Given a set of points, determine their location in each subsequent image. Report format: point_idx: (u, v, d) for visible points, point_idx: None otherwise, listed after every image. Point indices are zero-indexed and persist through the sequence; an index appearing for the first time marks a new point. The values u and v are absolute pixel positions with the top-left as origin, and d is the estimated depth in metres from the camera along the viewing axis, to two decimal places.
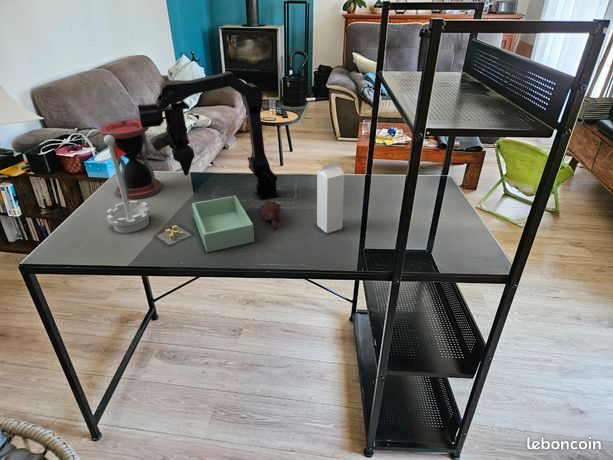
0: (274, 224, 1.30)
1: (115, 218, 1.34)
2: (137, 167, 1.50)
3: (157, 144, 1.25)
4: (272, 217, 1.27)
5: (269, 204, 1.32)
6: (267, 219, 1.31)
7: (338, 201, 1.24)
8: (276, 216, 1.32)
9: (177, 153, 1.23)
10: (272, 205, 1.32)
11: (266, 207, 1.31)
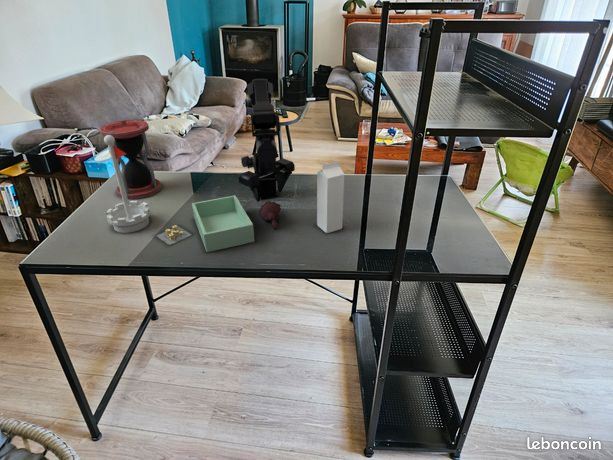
0: (274, 224, 1.30)
1: (115, 218, 1.34)
2: (137, 167, 1.50)
3: (242, 162, 1.27)
4: (272, 217, 1.27)
5: (269, 204, 1.32)
6: (267, 219, 1.31)
7: (338, 201, 1.24)
8: (276, 216, 1.32)
9: (239, 177, 1.22)
10: (272, 205, 1.32)
11: (266, 207, 1.31)
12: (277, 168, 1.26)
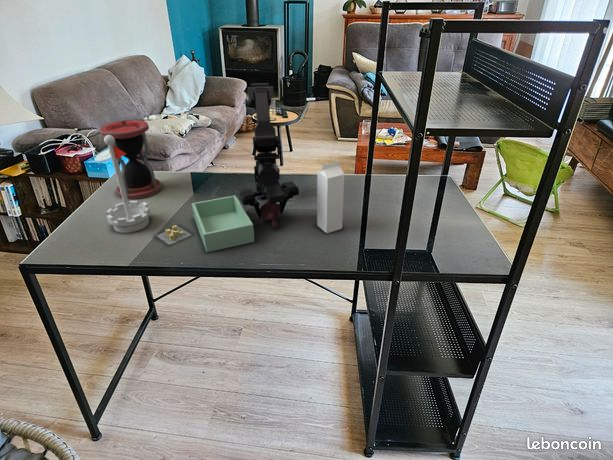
0: (274, 224, 1.30)
1: (115, 218, 1.34)
2: (137, 167, 1.50)
3: None
4: (272, 217, 1.27)
5: (269, 204, 1.32)
6: (267, 219, 1.31)
7: (338, 201, 1.24)
8: (276, 216, 1.32)
9: None
10: (272, 205, 1.32)
11: (266, 207, 1.31)
12: None
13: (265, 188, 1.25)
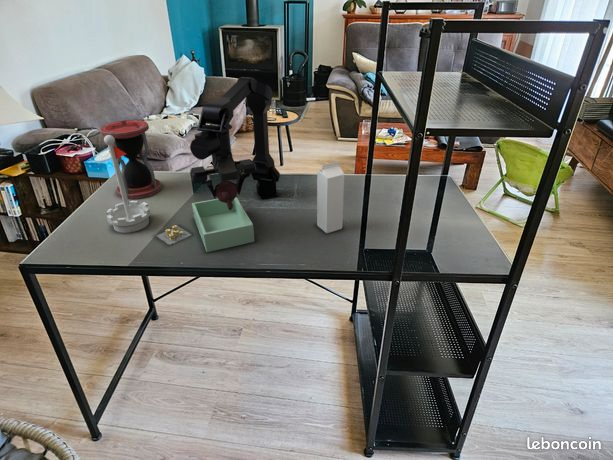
0: (229, 204, 1.20)
1: (115, 218, 1.34)
2: (137, 167, 1.50)
3: None
4: (226, 196, 1.18)
5: (224, 183, 1.22)
6: (222, 199, 1.21)
7: (338, 201, 1.24)
8: (232, 196, 1.22)
9: None
10: (227, 184, 1.22)
11: (221, 186, 1.22)
12: None
13: (217, 164, 1.15)
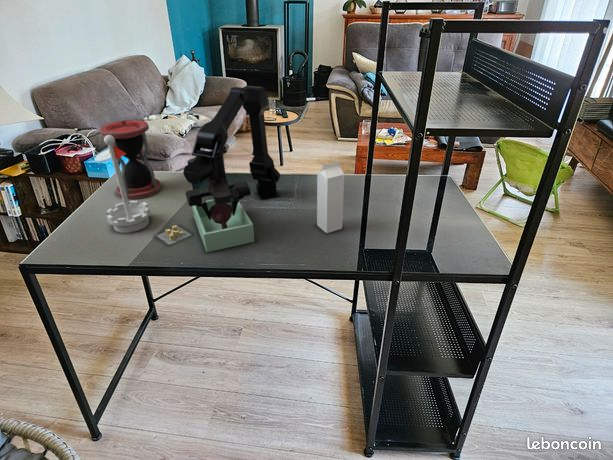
0: (223, 226, 1.23)
1: (115, 218, 1.34)
2: (137, 167, 1.50)
3: None
4: (220, 219, 1.21)
5: (219, 205, 1.25)
6: (216, 221, 1.24)
7: (338, 201, 1.24)
8: (226, 217, 1.25)
9: (249, 187, 1.25)
10: (222, 206, 1.25)
11: (215, 208, 1.25)
12: None
13: (212, 188, 1.18)
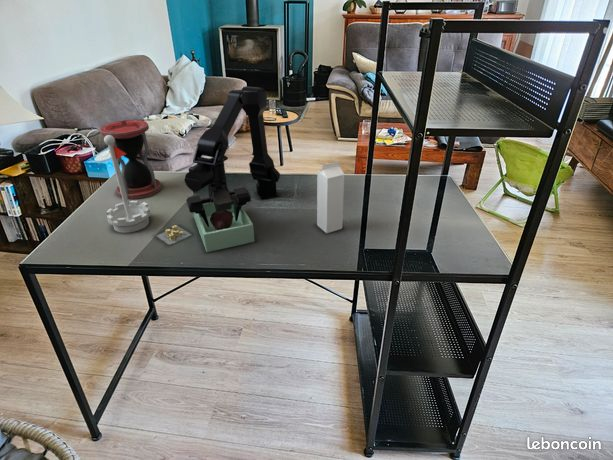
0: None
1: (115, 218, 1.34)
2: (137, 167, 1.50)
3: None
4: (221, 226, 1.22)
5: (220, 212, 1.26)
6: (217, 228, 1.25)
7: (338, 201, 1.24)
8: (227, 224, 1.26)
9: (249, 194, 1.26)
10: (223, 213, 1.26)
11: (216, 215, 1.26)
12: None
13: (212, 195, 1.19)
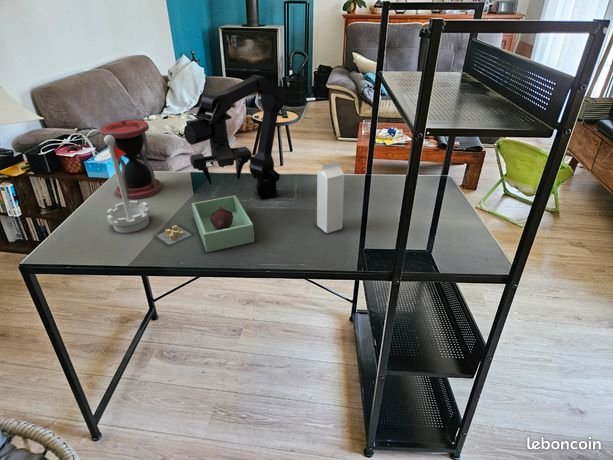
0: None
1: (115, 218, 1.34)
2: (137, 167, 1.50)
3: None
4: (221, 226, 1.22)
5: (220, 212, 1.26)
6: (217, 228, 1.25)
7: (338, 201, 1.24)
8: (227, 224, 1.26)
9: (250, 152, 1.31)
10: (223, 213, 1.26)
11: (216, 215, 1.26)
12: None
13: (215, 151, 1.24)
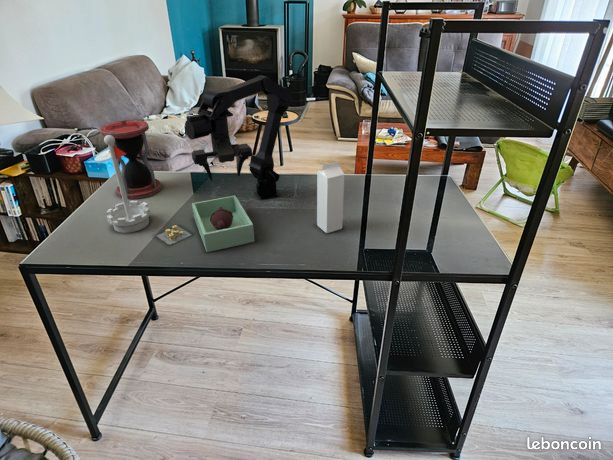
0: None
1: (115, 218, 1.34)
2: (137, 167, 1.50)
3: None
4: (221, 226, 1.22)
5: (220, 212, 1.26)
6: (217, 228, 1.25)
7: (338, 201, 1.24)
8: (227, 224, 1.26)
9: (251, 149, 1.33)
10: (223, 213, 1.26)
11: (216, 215, 1.26)
12: None
13: None
